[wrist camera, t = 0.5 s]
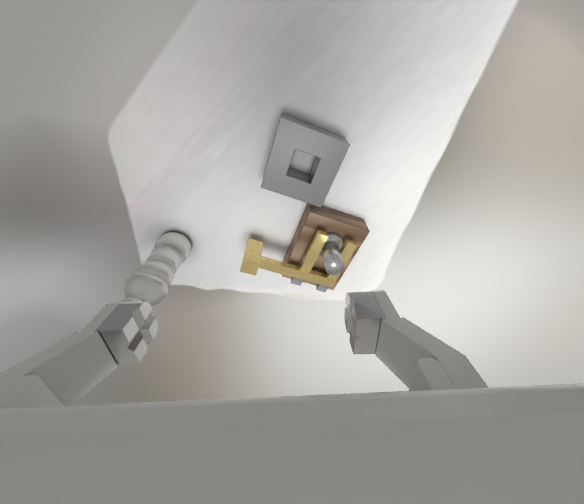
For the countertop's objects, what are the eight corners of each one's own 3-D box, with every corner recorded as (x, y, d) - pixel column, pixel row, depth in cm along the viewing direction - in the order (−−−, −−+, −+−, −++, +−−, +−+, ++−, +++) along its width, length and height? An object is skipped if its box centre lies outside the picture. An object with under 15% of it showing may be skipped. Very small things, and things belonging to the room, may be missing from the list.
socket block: (308, 200, 48) (310, 215, 43) (363, 219, 51) (371, 235, 46) (282, 262, 57) (281, 280, 52) (330, 275, 59) (334, 294, 54)
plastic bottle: (160, 225, 52) (99, 296, 35) (193, 230, 52) (149, 302, 36) (163, 250, 55) (110, 324, 39) (194, 255, 56) (155, 329, 40)
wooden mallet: (260, 201, 46) (255, 219, 40) (352, 230, 49) (360, 251, 44) (245, 249, 52) (239, 271, 46) (328, 272, 56) (332, 295, 50)
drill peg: (319, 216, 50) (326, 251, 40) (343, 224, 51) (355, 260, 41) (310, 237, 53) (314, 274, 43) (332, 244, 54) (341, 282, 44)
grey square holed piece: (282, 113, 40) (281, 117, 36) (344, 138, 42) (350, 144, 38) (263, 177, 46) (260, 187, 42) (318, 196, 48) (321, 207, 44)
